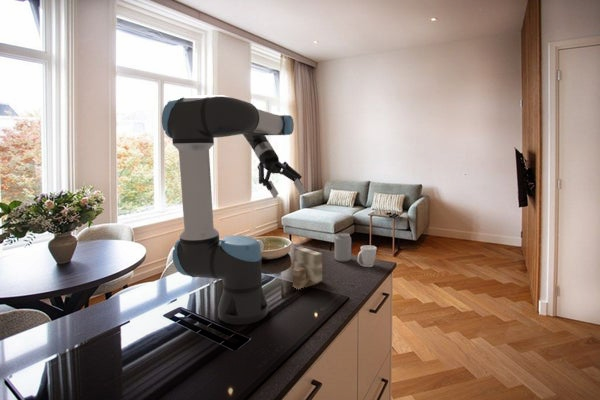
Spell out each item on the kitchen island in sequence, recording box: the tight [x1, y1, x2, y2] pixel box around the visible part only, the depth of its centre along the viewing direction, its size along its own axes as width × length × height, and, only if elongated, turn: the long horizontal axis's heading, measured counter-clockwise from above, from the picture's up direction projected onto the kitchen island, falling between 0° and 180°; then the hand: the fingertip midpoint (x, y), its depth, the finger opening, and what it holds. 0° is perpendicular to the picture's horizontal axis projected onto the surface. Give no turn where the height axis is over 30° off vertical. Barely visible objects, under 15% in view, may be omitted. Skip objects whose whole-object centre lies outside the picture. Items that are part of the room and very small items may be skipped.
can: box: [334, 232, 352, 263], centre depth 153 cm, size 8×8×12 cm
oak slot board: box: [292, 267, 323, 291], centre depth 125 cm, size 12×3×7 cm, turn 131°
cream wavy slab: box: [293, 246, 323, 283], centre depth 124 cm, size 12×3×10 cm, turn 41°
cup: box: [356, 244, 378, 268], centre depth 145 cm, size 7×10×8 cm
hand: (290, 194), depth 130 cm, fingers open, 13 cm apart
